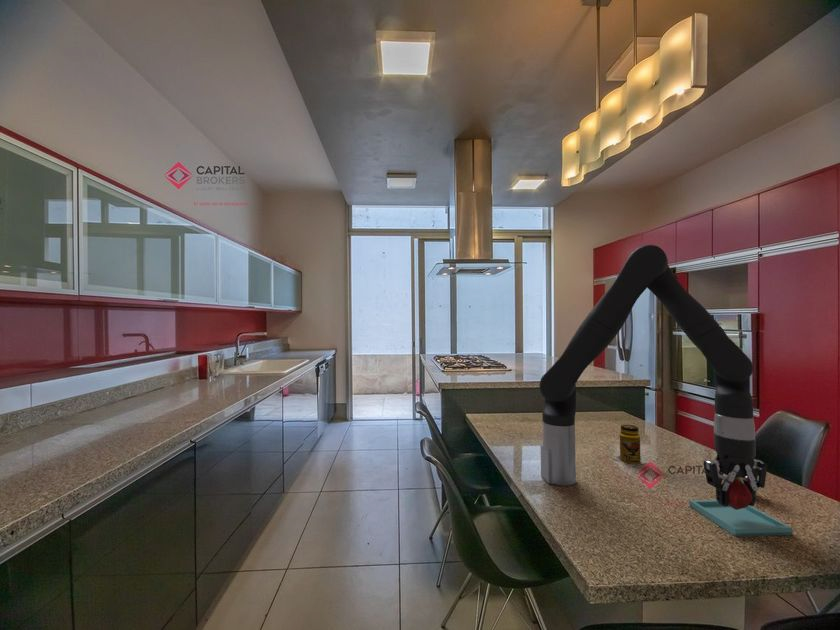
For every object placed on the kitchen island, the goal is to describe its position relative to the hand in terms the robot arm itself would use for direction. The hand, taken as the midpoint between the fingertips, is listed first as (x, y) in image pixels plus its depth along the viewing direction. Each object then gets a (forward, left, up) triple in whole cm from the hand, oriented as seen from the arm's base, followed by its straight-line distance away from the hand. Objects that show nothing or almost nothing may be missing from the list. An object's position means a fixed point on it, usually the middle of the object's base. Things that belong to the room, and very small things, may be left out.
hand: (736, 504), depth 86 cm
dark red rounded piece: (0, 0, -1) cm, 1 cm away
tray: (0, 0, -4) cm, 4 cm away
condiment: (-3, +38, -4) cm, 38 cm away
